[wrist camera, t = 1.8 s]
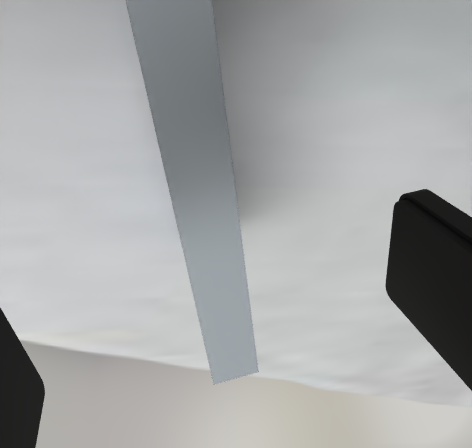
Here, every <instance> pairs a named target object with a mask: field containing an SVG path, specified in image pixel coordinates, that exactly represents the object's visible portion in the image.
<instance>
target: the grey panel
mask: <svg viewBox="0 0 472 448" xmlns="http://www.w3.org/2000/svg"><path fill="white" fill-rule="evenodd" d="M126 4H127V8H128V13H129V17H130V22H131V26H132V30H133V35H134V39H135V43H136V48H137V52H138V56H139V61H140V65H141V70H142V74H143V78H144V83H145V87H146V91H147V96H148V100H149V104H150V109H151V113H152V118H153V122H154V126H155V131H156V135H157V139H158V144H159V148H160V152H161V157H162V161H163V165H164V170H165V174H166V179H167V183H168V187H169V192H170V196H171V200H172V205H173V209H174V213H175V218H176V222H177V227H178V231H179V235H180V240H181V244H182V248H183V253H184V257H185V261H186V266H187V270H188V274H189V279H190V283H191V288H192V292H193V296H194V301H195V305H196V309H197V314H198V318H199V322H200V327H201V331H202V336H203V340H204V344H205V349H206V353H207V357H208V362H209V366H210V370H211V375H212V379H213V383H214V384H218V383H221V382H225V381H228V380H232V379H235V378H239V377H243V376H246V375H250V374H253V373H257V372H259V371H258V363H257V355H256V347H255V340H254V332H253V324H252V316H251V308H250V300H249V292H248V284H247V276H246V268H245V260H244V253H243V245H242V237H241V229H240V221H239V213H238V205H237V197H236V189H235V181H234V174H233V166H232V158H231V150H230V142H229V134H228V126H227V118H226V110H225V102H224V94H223V87H222V79H221V71H220V63H219V55H218V47H217V39H216V31H215V23H214V15H213V7H212V0H126Z"/></svg>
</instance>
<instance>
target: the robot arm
mask: <svg viewBox="0 0 472 448" xmlns="http://www.w3.org/2000/svg"><path fill="white" fill-rule="evenodd" d="M386 291H387V294H388V296H389V297H390V299H391V300H392V301H393V302H394V303H395V304H396V306H397V307H398V308H399V309H400V310H401V311H402V312H403V314H404V315H405V316H406V317H407V318H408V319H409V320H410V321H411V323H412V324H413V325H414V326H415V327H416V328H417V329H418V330H419V332H420V333H421V334H422V335H423V336H424V337H425V338H426V340H427V341H428V342H429V343H430V344H431V345H432V346H433V347H434V349H435V350H436V351H437V352H438V353H439V354H440V355H441V357H442V358H443V359H444V360H445V361H446V362H447V363H448V364H449V366H450V367H451V368H452V369H453V370H454V371H455V372H456V373H457V375H458V376H459V377H460V378H461V379H462V380H463V381H464V383H465V384H466V385H467V386H468V387H469V388H470V389H471V390H472V217H470V216H469V215H467V214H466V213H464V212H462V211H461V210H459V209H458V208H456V207H455V206H453V205H452V204H450V203H448V202H447V201H445V200H444V199H442V198H441V197H439V196H437V195H436V194H434V193H433V192H431V191H430V190H427V189H423V190H419V191H414V192H410V193H406V194H403V195H402V196H401V197H400V199H399V201H398V202H396V203H395V205H394V210H393V220H392V229H391V239H390V248H389V257H388V267H387V276H386ZM44 396H45V390H44V384H43V381H42V379H41V377H40V375H39V374H38V372H37V370H36V368H35V367H34V365H33V363H32V361H31V360H30V358H29V356H28V355H27V353H26V351H25V350H24V348H23V346H22V344H21V342H20V341H19V339H18V337H17V336H16V334H15V332H14V330H13V329H12V327H11V325H10V323H9V322H8V320H7V318H6V317H5V315H4V313H3V311H2V310H1V308H0V448H35V446H36V441H37V435H38V430H39V424H40V419H41V413H42V407H43V402H44Z"/></svg>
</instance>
